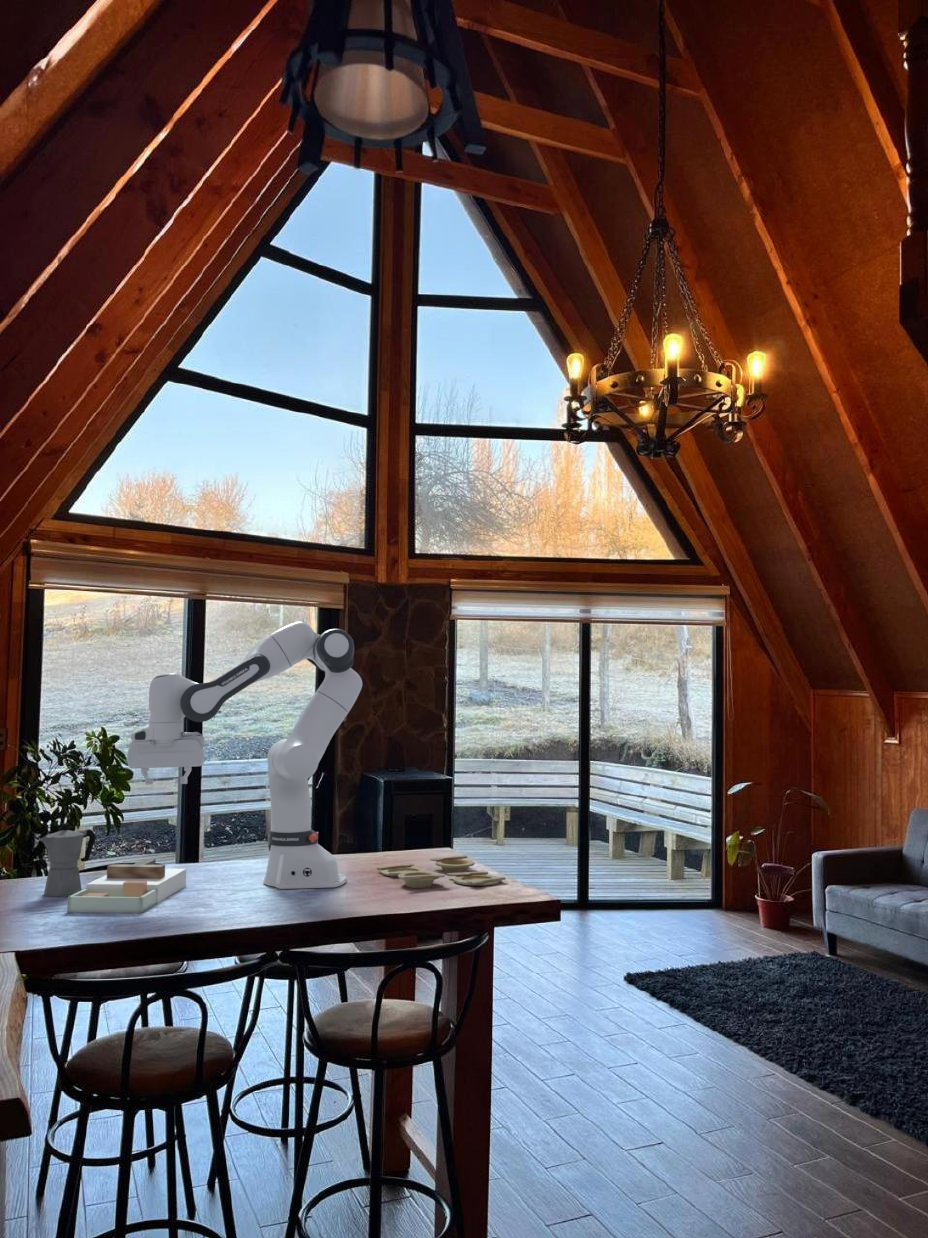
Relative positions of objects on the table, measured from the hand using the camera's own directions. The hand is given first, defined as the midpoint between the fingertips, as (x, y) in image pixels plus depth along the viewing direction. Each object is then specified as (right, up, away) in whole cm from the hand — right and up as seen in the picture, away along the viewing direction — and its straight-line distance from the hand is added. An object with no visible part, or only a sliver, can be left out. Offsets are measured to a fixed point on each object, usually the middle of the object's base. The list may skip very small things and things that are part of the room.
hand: (166, 784), depth 251 cm
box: (-5, -25, -26) cm, 37 cm away
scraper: (-4, -22, -8) cm, 24 cm away
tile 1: (0, -23, -22) cm, 31 cm away
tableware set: (+74, -29, +12) cm, 80 cm away
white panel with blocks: (-4, -27, -11) cm, 29 cm away
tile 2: (-9, -22, -27) cm, 36 cm away
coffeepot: (-23, -27, -9) cm, 37 cm away
